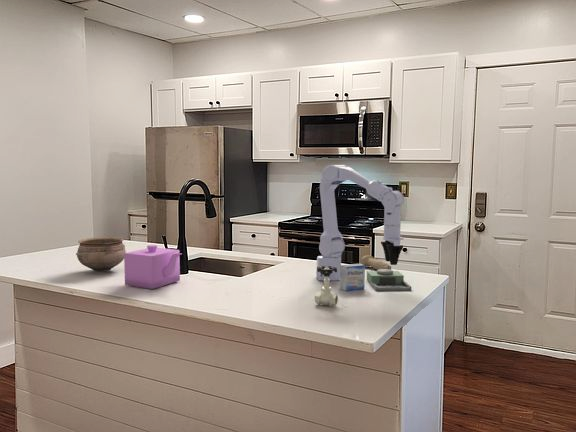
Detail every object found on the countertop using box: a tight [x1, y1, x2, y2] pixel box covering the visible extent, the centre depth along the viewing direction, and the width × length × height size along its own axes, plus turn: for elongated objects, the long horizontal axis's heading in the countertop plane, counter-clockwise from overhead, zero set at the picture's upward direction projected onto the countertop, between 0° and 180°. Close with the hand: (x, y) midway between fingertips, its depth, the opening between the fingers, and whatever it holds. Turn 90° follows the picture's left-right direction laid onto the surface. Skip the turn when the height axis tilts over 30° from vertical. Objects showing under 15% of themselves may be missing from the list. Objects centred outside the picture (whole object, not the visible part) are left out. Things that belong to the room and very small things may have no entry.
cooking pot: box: [75, 236, 127, 272], centre depth 211 cm, size 25×19×12 cm
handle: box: [360, 254, 392, 271], centre depth 215 cm, size 5×6×15 cm
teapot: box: [123, 244, 183, 290], centre depth 189 cm, size 15×25×14 cm, turn 63°
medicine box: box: [339, 263, 366, 292], centre depth 182 cm, size 8×4×9 cm, turn 115°
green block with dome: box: [366, 269, 405, 285], centre depth 192 cm, size 12×8×4 cm
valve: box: [314, 266, 339, 307], centre depth 160 cm, size 7×7×12 cm
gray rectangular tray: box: [370, 280, 412, 292], centre depth 184 cm, size 13×9×2 cm
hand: (391, 262), depth 183 cm, fingers open, 6 cm apart
